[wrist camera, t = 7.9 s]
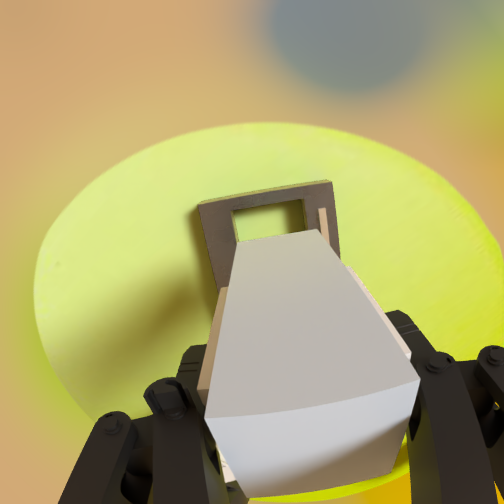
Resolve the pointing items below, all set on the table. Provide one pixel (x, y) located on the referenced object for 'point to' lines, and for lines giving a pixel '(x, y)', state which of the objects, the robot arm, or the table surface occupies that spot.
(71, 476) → the robot arm
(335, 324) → the plug
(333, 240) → the panel
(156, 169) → the table surface
